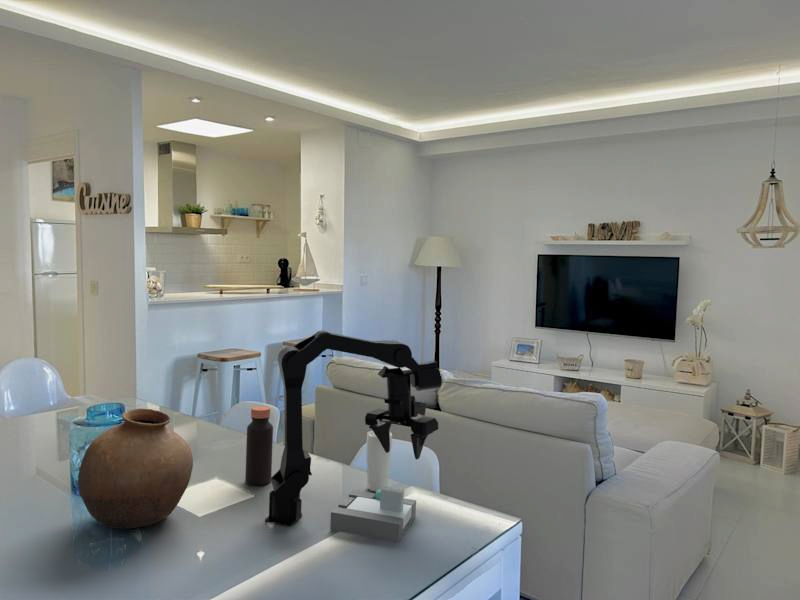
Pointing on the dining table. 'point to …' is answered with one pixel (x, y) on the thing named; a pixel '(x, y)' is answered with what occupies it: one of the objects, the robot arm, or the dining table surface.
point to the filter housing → (369, 519)
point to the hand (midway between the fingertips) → (402, 455)
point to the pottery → (135, 471)
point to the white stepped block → (385, 504)
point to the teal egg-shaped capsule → (378, 494)
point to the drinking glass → (377, 462)
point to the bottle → (259, 447)
